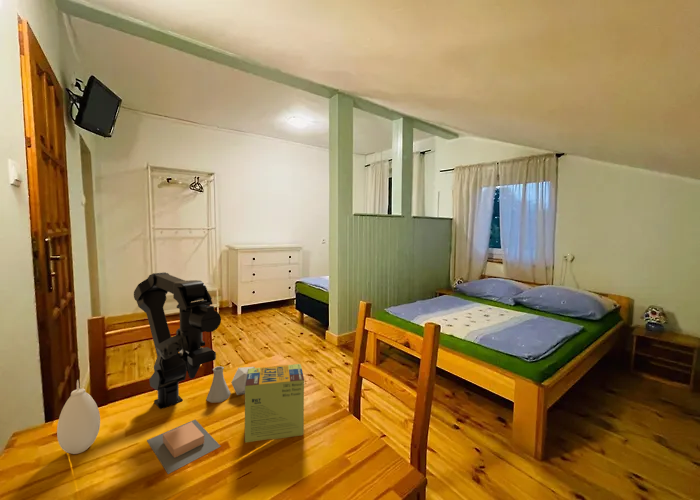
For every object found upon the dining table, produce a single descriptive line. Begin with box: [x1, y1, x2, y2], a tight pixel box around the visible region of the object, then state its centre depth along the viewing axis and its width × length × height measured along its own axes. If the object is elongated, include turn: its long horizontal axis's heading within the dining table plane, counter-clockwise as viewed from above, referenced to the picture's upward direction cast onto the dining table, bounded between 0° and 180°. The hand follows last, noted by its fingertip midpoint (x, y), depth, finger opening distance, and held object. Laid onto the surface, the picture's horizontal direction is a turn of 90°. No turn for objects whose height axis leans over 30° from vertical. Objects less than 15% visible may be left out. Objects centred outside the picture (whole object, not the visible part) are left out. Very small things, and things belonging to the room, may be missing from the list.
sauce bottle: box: [56, 379, 101, 455], centre depth 74 cm, size 8×8×18 cm
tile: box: [163, 421, 204, 458], centre depth 77 cm, size 2×7×8 cm
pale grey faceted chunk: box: [231, 366, 256, 396], centre depth 103 cm, size 8×9×10 cm
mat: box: [146, 419, 222, 475], centre depth 77 cm, size 16×12×1 cm
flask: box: [205, 365, 231, 404], centre depth 99 cm, size 7×7×10 cm
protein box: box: [244, 363, 305, 443], centre depth 85 cm, size 10×15×16 cm
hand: (191, 377), depth 88 cm, fingers closed
